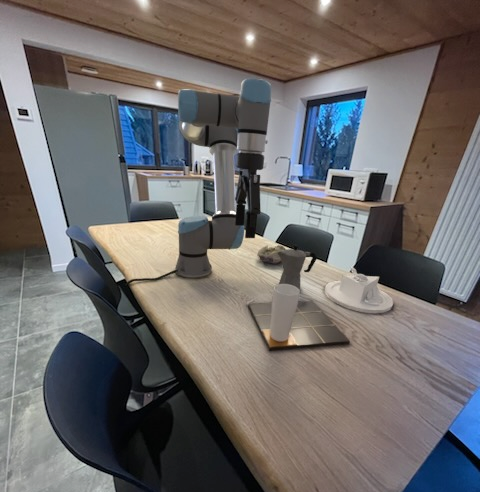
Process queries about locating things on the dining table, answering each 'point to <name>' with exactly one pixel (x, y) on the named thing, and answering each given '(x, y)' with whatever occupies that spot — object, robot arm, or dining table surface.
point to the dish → (359, 293)
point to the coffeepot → (294, 265)
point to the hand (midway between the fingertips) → (244, 231)
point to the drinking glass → (283, 310)
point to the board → (299, 327)
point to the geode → (270, 254)
